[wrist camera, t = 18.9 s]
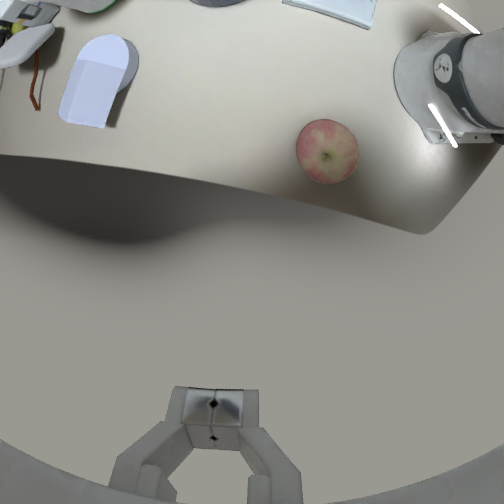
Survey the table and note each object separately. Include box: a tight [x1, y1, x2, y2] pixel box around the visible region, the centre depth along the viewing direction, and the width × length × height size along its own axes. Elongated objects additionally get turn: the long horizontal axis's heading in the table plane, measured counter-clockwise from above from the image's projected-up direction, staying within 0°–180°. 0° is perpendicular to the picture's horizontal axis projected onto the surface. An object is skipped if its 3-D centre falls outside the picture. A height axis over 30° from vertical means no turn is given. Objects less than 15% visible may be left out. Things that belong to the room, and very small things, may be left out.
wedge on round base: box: [58, 34, 138, 129], centre depth 29 cm, size 9×7×13 cm
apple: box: [297, 119, 359, 184], centre depth 33 cm, size 8×8×8 cm
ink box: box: [0, 0, 59, 28], centre depth 20 cm, size 9×5×12 cm, turn 41°
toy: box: [0, 20, 27, 42], centre depth 22 cm, size 7×5×10 cm
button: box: [0, 24, 55, 69], centre depth 23 cm, size 10×2×10 cm
